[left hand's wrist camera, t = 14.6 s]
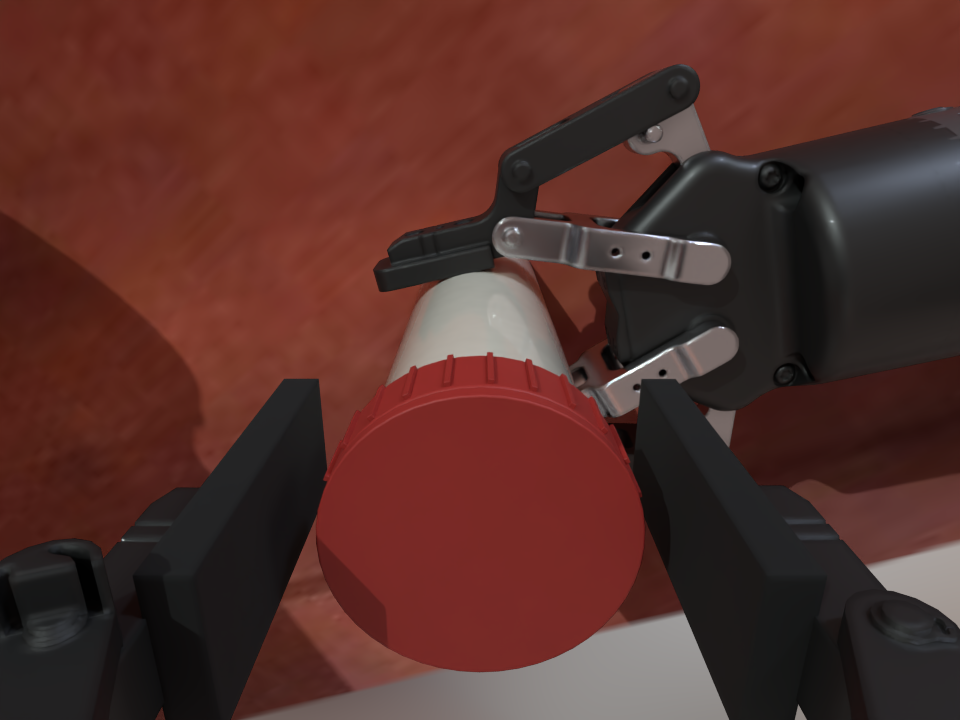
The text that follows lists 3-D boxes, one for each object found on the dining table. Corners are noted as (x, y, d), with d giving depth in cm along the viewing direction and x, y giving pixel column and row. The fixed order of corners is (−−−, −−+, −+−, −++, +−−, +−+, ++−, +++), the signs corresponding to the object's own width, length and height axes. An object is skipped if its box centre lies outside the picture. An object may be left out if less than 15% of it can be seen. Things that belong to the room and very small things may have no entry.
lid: (595, 316, 11) (617, 351, 9) (648, 572, 13) (674, 641, 11) (293, 390, 12) (260, 438, 10) (386, 627, 14) (372, 702, 12)
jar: (556, 311, 27) (660, 567, 12) (459, 362, 28) (431, 665, 12) (503, 212, 26) (539, 348, 10) (402, 268, 27) (290, 476, 11)
